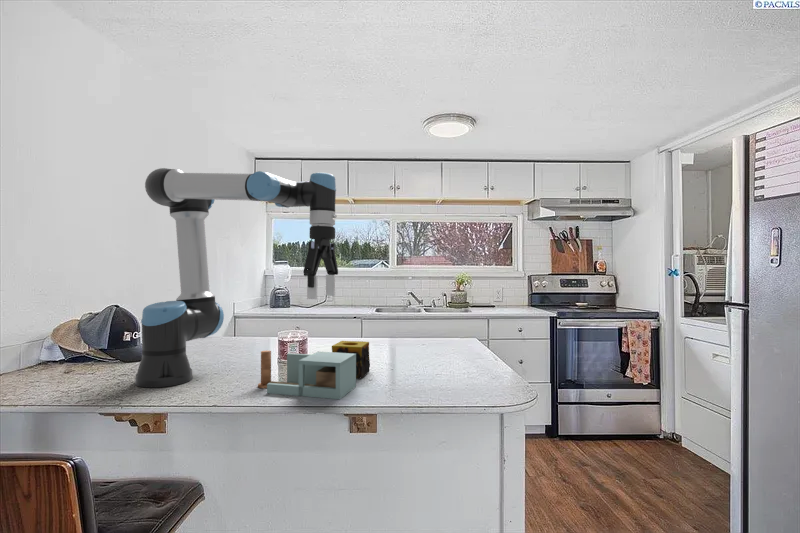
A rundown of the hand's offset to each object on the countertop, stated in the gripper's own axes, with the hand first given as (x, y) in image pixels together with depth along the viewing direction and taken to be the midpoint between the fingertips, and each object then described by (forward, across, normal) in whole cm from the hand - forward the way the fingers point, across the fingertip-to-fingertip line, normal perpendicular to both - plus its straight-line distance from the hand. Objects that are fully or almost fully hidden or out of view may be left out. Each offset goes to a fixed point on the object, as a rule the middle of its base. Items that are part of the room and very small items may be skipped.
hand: (321, 297), depth 134 cm
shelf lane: (+25, -8, -1) cm, 27 cm away
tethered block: (+25, -8, +3) cm, 27 cm away
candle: (+26, +11, -6) cm, 28 cm away
